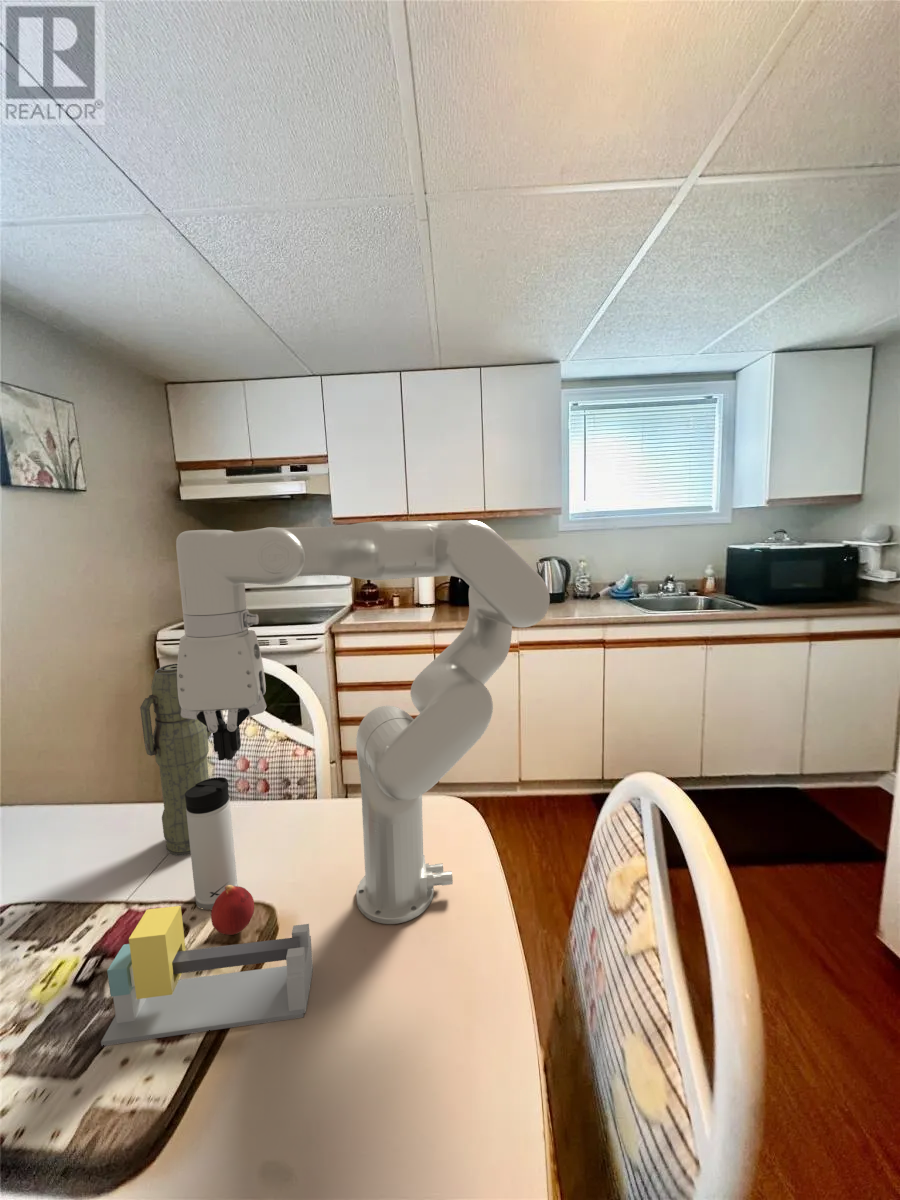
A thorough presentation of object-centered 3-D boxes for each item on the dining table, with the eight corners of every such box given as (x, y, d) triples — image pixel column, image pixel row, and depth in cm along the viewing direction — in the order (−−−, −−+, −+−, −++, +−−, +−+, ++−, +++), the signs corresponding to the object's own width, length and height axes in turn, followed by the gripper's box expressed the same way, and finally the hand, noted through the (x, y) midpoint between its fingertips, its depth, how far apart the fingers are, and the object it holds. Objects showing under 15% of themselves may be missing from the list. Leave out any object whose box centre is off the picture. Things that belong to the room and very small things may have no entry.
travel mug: (223, 914, 75) (212, 796, 72) (187, 908, 77) (174, 792, 74) (247, 885, 81) (238, 775, 78) (213, 880, 83) (202, 771, 80)
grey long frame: (313, 966, 66) (309, 912, 65) (305, 1016, 59) (300, 958, 58) (132, 989, 63) (125, 933, 62) (101, 1045, 56) (92, 984, 55)
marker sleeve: (187, 962, 62) (180, 905, 61) (172, 994, 58) (165, 934, 57) (154, 966, 62) (147, 909, 60) (136, 999, 57) (128, 938, 56)
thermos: (233, 830, 96) (218, 661, 91) (176, 866, 86) (155, 679, 81) (206, 817, 101) (190, 656, 95) (148, 851, 90) (126, 672, 85)
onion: (244, 911, 76) (240, 865, 75) (263, 929, 72) (259, 882, 71) (206, 935, 71) (201, 887, 70) (225, 956, 68) (220, 906, 67)
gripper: (281, 617, 68) (290, 739, 70) (168, 621, 66) (182, 747, 68) (268, 627, 60) (278, 764, 63) (141, 633, 58) (157, 773, 61)
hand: (228, 755), depth 66 cm, fingers closed
